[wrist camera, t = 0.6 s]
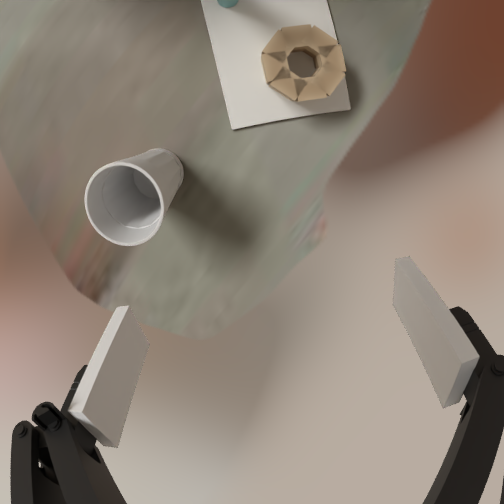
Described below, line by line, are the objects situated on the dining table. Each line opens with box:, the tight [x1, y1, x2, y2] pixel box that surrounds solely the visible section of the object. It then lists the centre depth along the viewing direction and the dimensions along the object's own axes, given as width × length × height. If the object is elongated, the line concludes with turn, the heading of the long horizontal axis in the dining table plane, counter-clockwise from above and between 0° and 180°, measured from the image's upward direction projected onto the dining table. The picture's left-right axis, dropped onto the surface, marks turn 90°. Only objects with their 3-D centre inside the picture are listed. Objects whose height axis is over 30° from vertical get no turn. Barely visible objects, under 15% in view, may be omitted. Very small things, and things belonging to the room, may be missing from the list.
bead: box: [261, 24, 346, 102], centre depth 29 cm, size 8×8×4 cm
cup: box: [85, 148, 184, 246], centre depth 32 cm, size 8×8×12 cm
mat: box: [201, 0, 351, 130], centre depth 29 cm, size 20×14×1 cm
